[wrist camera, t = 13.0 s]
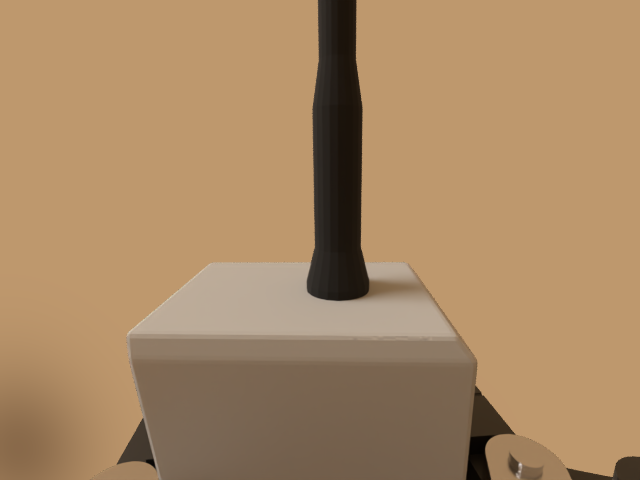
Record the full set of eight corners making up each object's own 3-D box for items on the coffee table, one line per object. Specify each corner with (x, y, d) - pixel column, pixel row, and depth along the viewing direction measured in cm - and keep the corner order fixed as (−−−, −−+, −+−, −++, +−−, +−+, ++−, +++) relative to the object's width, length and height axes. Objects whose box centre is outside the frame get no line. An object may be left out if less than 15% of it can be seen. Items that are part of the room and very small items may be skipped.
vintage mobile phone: (251, 714, 12) (174, -157, 7) (393, 722, 12) (440, -173, 6) (216, 947, 9) (-21, -540, 3) (419, 964, 8) (578, -601, 3)
